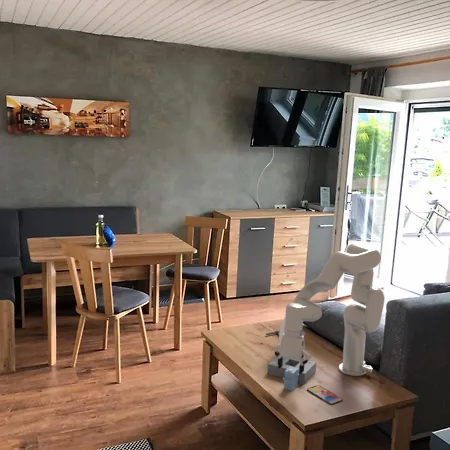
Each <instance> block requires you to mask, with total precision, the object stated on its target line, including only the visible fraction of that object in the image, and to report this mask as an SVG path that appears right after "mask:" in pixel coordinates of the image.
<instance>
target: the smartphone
mask: <svg viewBox="0 0 450 450" xmlns="http://www.w3.org/2000/svg"><path fill="white" fill-rule="evenodd" d="M306 391H307V392H309V393H310V394H312V395H314V396H315V397H316V398H318V399H320V400H321V401H323V402H325V403H326V404H328V405H331V406H333V405H337V404H339V403H342V402H343V398H341V397H340V396H338V395H337V394H335V393H333V392H331V391H330V390H328V389H326V388H325V387H323V386H322V385H320V384H318V385H314V386H310V387H307V389H306Z"/></svg>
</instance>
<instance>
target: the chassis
mask: <svg viewBox="0 0 450 450" xmlns="http://www.w3.org/2000/svg"><path fill="white" fill-rule="evenodd" d="M282 357H283V356H282ZM304 360H306V358H304ZM290 366H291V367H294V368H298V373H299V366H300V363H299V361H298V360H294V359H290V358H287V357H283V366H282V367H281V368H278V359H277V357H276V356H275V357H274V358H273V359H272V360H271V361H269V362H268V364H267V374H268V375H271V376H276V377H278V378H282V379H283V378H284V377H285V370H287V369H288V368H289V367H290ZM316 372H317V361H313V360H311V359H310V360H309V361H308V362H307V363H306V364H304V372H302V373H301V374H300V375H299V376H298V383H301V384H303V385H304V384H306V383H307V382H308V381H309V380H310V379H311V377H313V376H314V375H315V374H316Z"/></svg>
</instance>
